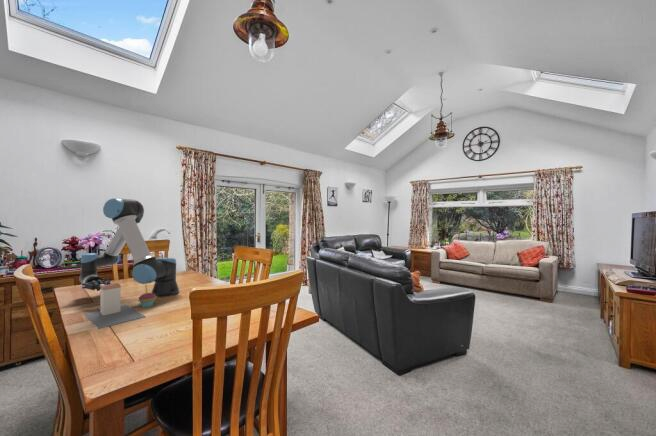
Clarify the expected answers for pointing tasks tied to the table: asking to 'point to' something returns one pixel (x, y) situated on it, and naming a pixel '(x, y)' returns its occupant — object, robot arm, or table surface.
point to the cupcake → (147, 299)
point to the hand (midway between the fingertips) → (105, 288)
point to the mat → (114, 317)
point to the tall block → (110, 298)
